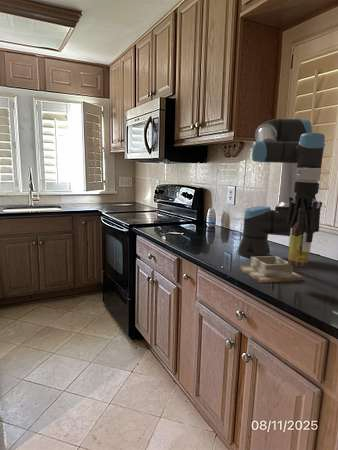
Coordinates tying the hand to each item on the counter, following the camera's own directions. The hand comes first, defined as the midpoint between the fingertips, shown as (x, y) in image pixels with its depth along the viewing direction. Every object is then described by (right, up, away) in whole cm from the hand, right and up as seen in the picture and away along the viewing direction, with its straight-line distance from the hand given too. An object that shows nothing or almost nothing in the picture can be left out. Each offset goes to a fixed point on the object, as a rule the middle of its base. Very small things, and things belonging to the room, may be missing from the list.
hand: (299, 248), depth 109 cm
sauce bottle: (0, -6, +1) cm, 6 cm away
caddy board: (-5, -11, +15) cm, 20 cm away
